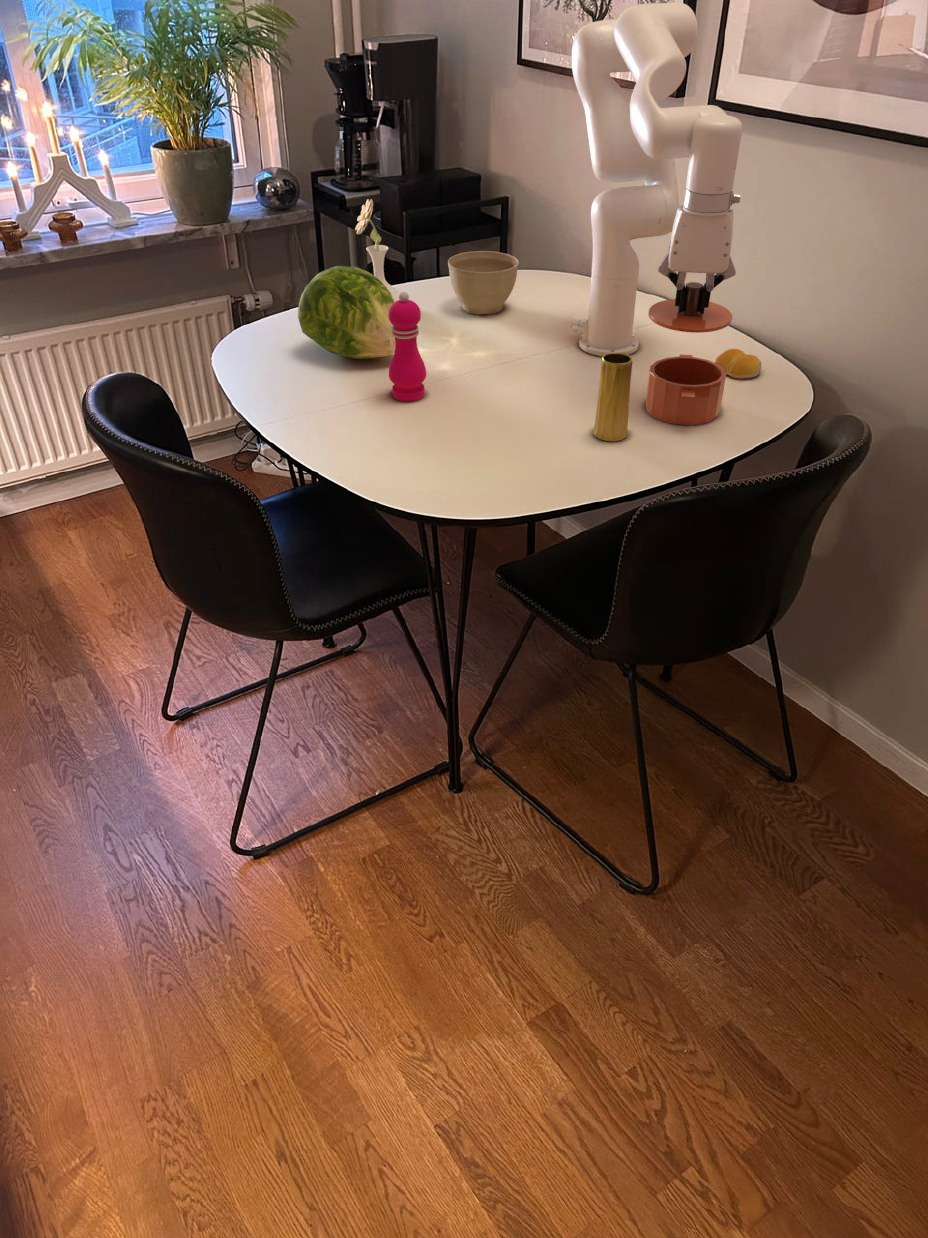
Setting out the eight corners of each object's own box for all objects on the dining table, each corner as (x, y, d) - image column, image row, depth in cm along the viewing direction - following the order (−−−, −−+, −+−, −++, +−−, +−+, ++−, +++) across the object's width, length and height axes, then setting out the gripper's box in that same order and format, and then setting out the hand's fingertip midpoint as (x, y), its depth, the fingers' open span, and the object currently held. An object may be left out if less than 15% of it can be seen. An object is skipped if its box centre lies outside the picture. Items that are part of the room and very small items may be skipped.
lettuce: (366, 346, 180) (415, 270, 183) (271, 304, 187) (320, 232, 190) (389, 394, 197) (434, 324, 200) (302, 354, 204) (347, 287, 207)
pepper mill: (432, 389, 183) (429, 287, 171) (419, 404, 178) (414, 300, 166) (398, 385, 185) (392, 283, 173) (384, 399, 180) (377, 296, 168)
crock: (645, 429, 169) (649, 390, 164) (646, 385, 184) (650, 349, 179) (721, 433, 167) (728, 394, 162) (716, 389, 182) (722, 352, 177)
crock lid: (647, 333, 161) (652, 297, 157) (648, 302, 172) (652, 268, 168) (733, 338, 159) (740, 302, 155) (728, 306, 170) (734, 272, 166)
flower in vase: (363, 299, 225) (354, 188, 209) (409, 300, 223) (404, 189, 208) (350, 318, 215) (340, 203, 199) (399, 320, 213) (392, 204, 198)
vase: (605, 444, 164) (612, 367, 155) (586, 430, 169) (592, 355, 160) (634, 437, 166) (642, 360, 158) (614, 423, 171) (621, 348, 162)
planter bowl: (518, 320, 212) (519, 271, 206) (448, 320, 213) (447, 272, 206) (516, 296, 225) (517, 249, 218) (449, 296, 225) (448, 250, 219)
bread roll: (744, 383, 184) (748, 364, 181) (708, 369, 189) (711, 350, 187) (769, 372, 188) (773, 352, 186) (732, 359, 193) (736, 340, 191)
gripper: (756, 196, 155) (736, 305, 166) (656, 192, 157) (644, 300, 168) (760, 209, 149) (739, 321, 161) (656, 205, 151) (643, 316, 163)
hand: (690, 309), depth 164 cm, fingers closed on crock lid, 3 cm apart
